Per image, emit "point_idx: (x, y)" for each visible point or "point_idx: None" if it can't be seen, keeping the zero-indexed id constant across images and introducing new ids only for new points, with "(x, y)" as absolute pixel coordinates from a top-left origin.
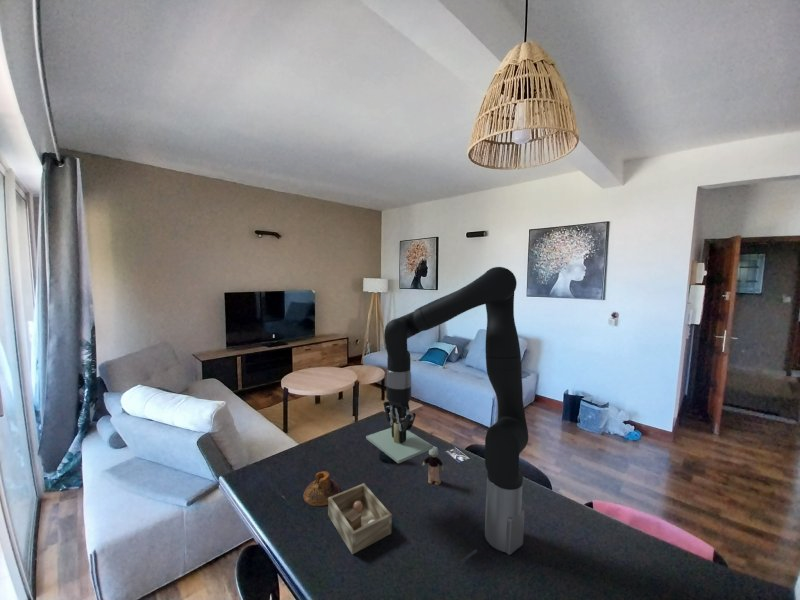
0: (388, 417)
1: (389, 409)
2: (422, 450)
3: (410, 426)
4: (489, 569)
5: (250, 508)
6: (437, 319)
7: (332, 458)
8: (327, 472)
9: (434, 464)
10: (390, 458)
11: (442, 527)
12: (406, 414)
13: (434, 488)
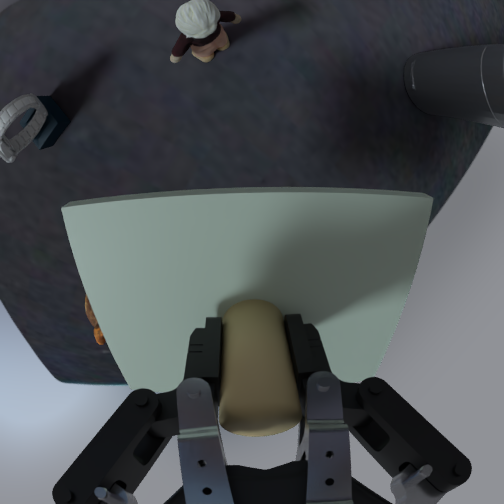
0: (164, 447)
1: (127, 480)
2: (413, 275)
3: (392, 403)
4: (442, 158)
5: (119, 382)
6: None
7: (18, 247)
8: (100, 328)
9: (216, 35)
10: (61, 117)
11: (348, 146)
12: (397, 500)
13: (234, 62)
